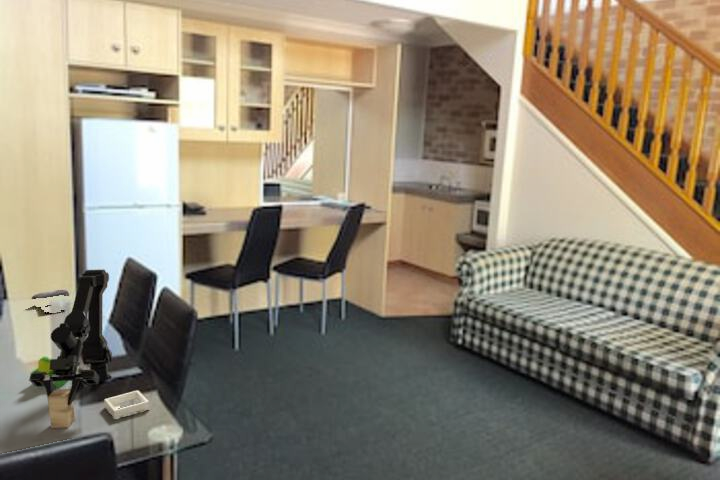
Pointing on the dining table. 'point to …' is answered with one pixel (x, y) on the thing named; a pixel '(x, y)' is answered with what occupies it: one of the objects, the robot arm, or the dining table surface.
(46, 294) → the glasses case
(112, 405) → the tray
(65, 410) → the light brown tall block
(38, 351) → the dining table surface
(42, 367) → the fruit basket
